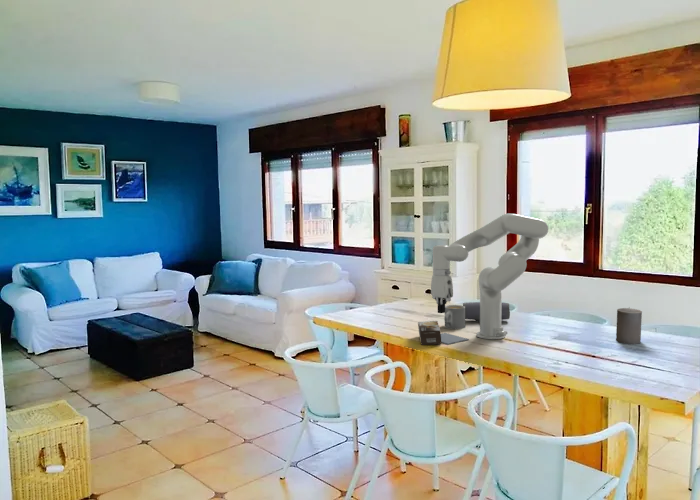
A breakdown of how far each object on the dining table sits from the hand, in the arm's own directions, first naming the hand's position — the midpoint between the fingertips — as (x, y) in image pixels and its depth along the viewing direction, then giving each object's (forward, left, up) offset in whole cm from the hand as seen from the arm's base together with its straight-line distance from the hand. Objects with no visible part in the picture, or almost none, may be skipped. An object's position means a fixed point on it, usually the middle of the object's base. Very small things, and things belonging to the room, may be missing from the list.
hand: (441, 312), depth 251 cm
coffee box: (+6, +2, -8) cm, 10 cm away
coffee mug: (+12, -19, -12) cm, 25 cm away
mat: (-3, 0, -12) cm, 12 cm away
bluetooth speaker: (+11, -42, -12) cm, 45 cm away
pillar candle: (-55, -58, -12) cm, 81 cm away
